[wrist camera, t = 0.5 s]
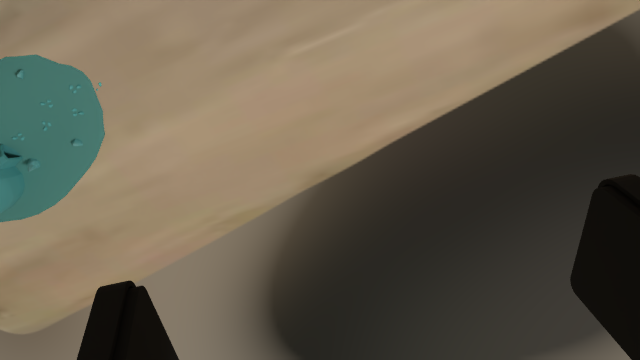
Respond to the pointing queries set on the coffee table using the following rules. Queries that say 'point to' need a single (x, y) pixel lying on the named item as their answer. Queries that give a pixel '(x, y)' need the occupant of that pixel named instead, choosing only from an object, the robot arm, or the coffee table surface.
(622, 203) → the robot arm
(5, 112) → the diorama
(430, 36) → the coffee table surface
